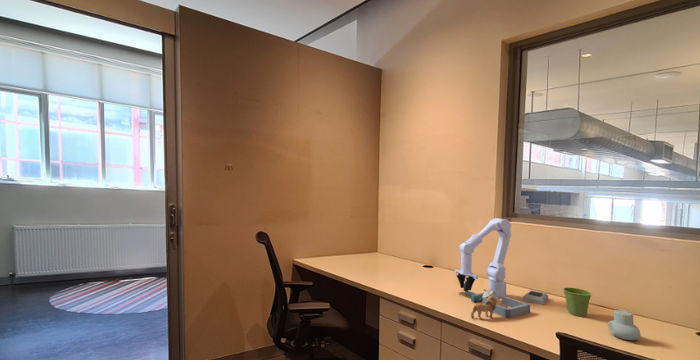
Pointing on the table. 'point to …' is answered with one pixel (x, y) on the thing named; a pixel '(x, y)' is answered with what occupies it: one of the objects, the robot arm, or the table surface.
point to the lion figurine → (485, 308)
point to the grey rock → (489, 294)
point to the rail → (465, 294)
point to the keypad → (535, 297)
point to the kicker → (473, 295)
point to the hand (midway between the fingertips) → (465, 288)
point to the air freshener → (624, 326)
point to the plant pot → (577, 301)
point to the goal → (514, 311)
